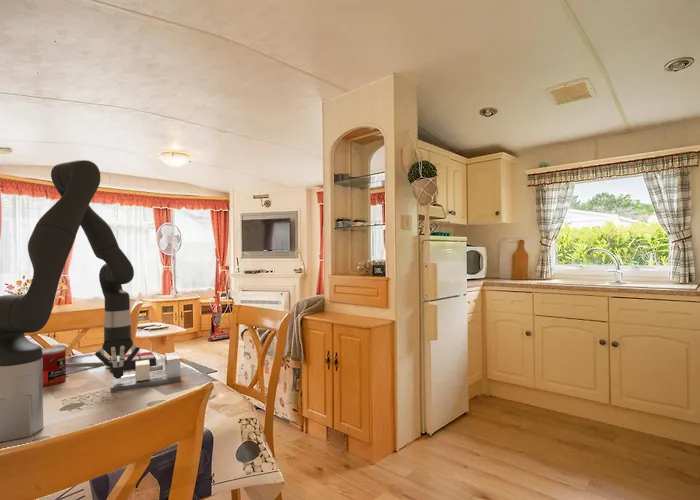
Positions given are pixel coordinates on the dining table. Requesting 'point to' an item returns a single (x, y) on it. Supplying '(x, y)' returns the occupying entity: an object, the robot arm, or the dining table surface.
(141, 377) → the block
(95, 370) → the dining table surface
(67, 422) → the dining table surface
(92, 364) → the caliper
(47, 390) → the dining table surface
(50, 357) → the canned food
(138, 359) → the calculator
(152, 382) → the gauge base
